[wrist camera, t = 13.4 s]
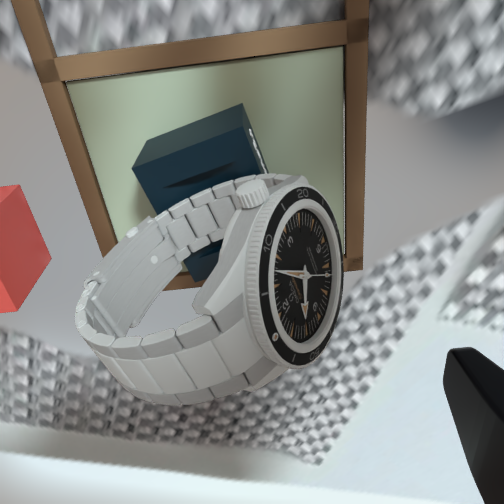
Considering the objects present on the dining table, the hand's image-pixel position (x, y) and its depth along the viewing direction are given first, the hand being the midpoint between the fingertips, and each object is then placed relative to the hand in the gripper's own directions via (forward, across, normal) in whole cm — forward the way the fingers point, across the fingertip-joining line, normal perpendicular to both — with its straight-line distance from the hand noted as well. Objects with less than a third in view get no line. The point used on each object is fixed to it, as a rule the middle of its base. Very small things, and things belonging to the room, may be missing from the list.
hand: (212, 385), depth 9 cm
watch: (+13, 0, +1) cm, 13 cm away
